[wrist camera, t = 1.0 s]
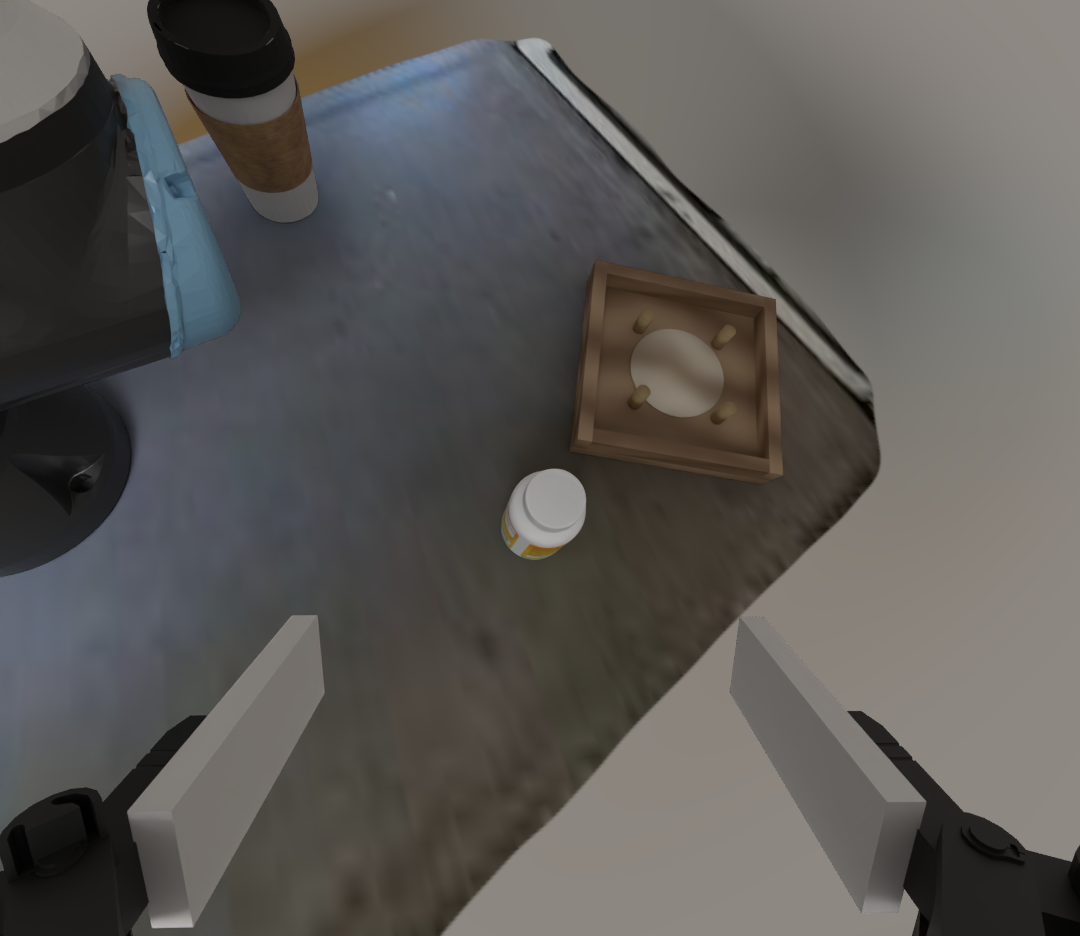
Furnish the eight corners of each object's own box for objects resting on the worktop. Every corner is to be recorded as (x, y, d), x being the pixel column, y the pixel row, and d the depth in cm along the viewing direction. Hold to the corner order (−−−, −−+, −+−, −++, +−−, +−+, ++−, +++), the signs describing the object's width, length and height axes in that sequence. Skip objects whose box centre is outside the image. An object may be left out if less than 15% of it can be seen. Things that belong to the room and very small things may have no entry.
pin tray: (762, 484, 46) (787, 472, 42) (569, 451, 44) (579, 436, 40) (757, 317, 52) (779, 295, 48) (587, 281, 49) (597, 255, 46)
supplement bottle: (578, 521, 42) (613, 491, 33) (540, 574, 40) (566, 557, 31) (526, 482, 42) (547, 441, 33) (486, 533, 40) (496, 504, 31)
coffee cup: (216, 184, 46) (112, -13, 32) (300, 149, 49) (238, -47, 35) (268, 249, 45) (185, 74, 31) (351, 209, 48) (309, 32, 33)
